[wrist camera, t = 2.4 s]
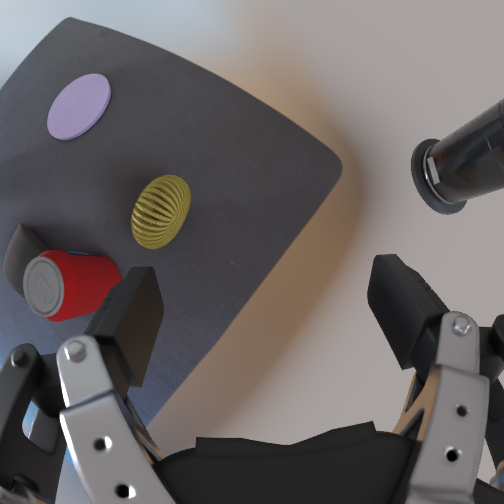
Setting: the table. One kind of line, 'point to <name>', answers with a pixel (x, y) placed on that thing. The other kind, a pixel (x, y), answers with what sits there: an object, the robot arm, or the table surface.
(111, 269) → the beverage can
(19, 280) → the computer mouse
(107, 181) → the table surface
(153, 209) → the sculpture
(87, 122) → the saucer
